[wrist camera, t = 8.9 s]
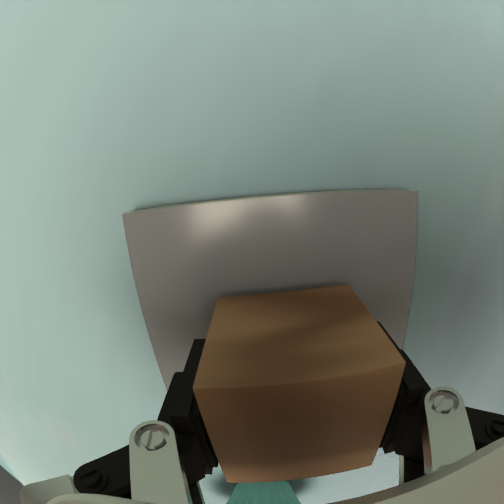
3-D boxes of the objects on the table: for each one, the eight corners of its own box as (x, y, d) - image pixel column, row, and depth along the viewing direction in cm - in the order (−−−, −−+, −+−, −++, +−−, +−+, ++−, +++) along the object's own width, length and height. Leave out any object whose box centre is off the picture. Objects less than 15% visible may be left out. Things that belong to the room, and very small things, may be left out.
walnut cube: (348, 284, 10) (406, 362, 6) (341, 381, 12) (371, 464, 7) (217, 297, 11) (192, 388, 6) (234, 392, 12) (227, 482, 7)
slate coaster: (404, 188, 11) (417, 190, 10) (380, 393, 14) (387, 406, 13) (133, 210, 11) (122, 214, 10) (184, 412, 15) (181, 426, 14)
